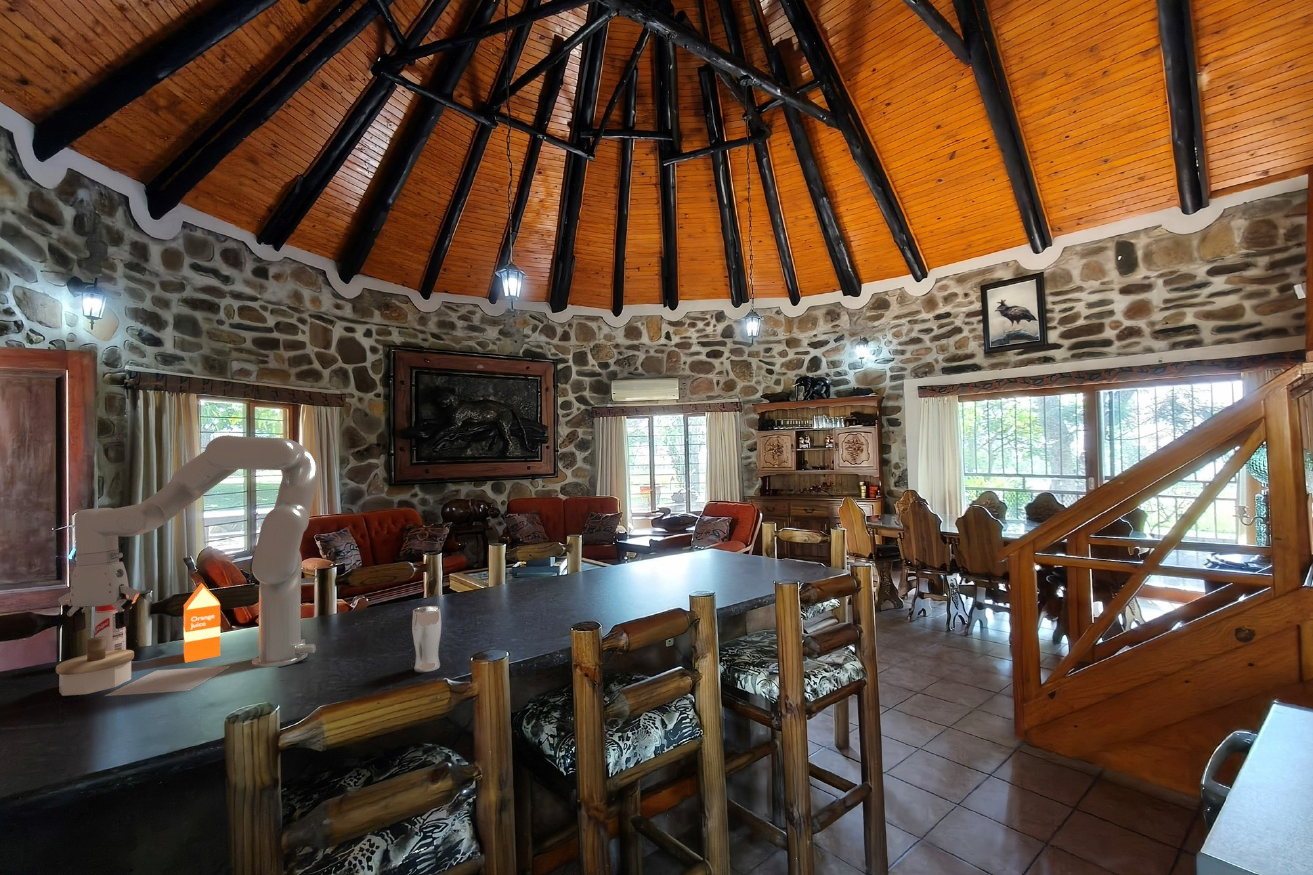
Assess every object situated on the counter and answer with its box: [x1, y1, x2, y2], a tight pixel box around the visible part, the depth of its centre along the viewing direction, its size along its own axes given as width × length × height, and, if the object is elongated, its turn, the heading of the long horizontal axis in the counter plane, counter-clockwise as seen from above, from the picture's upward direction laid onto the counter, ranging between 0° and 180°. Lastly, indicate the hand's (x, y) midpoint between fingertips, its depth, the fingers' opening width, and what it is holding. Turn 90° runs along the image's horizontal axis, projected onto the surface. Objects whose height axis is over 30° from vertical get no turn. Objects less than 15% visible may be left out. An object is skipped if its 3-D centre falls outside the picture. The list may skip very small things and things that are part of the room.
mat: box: [104, 665, 232, 697], centre depth 142 cm, size 18×16×1 cm
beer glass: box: [411, 605, 442, 673], centre depth 148 cm, size 7×7×15 cm
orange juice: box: [183, 582, 221, 663], centre depth 161 cm, size 8×9×20 cm
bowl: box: [58, 660, 132, 697], centre depth 140 cm, size 12×12×6 cm
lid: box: [55, 636, 135, 675], centre depth 140 cm, size 14×14×6 cm
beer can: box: [94, 605, 127, 651], centre depth 159 cm, size 6×6×16 cm
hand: (100, 628), depth 141 cm, fingers open, 9 cm apart
